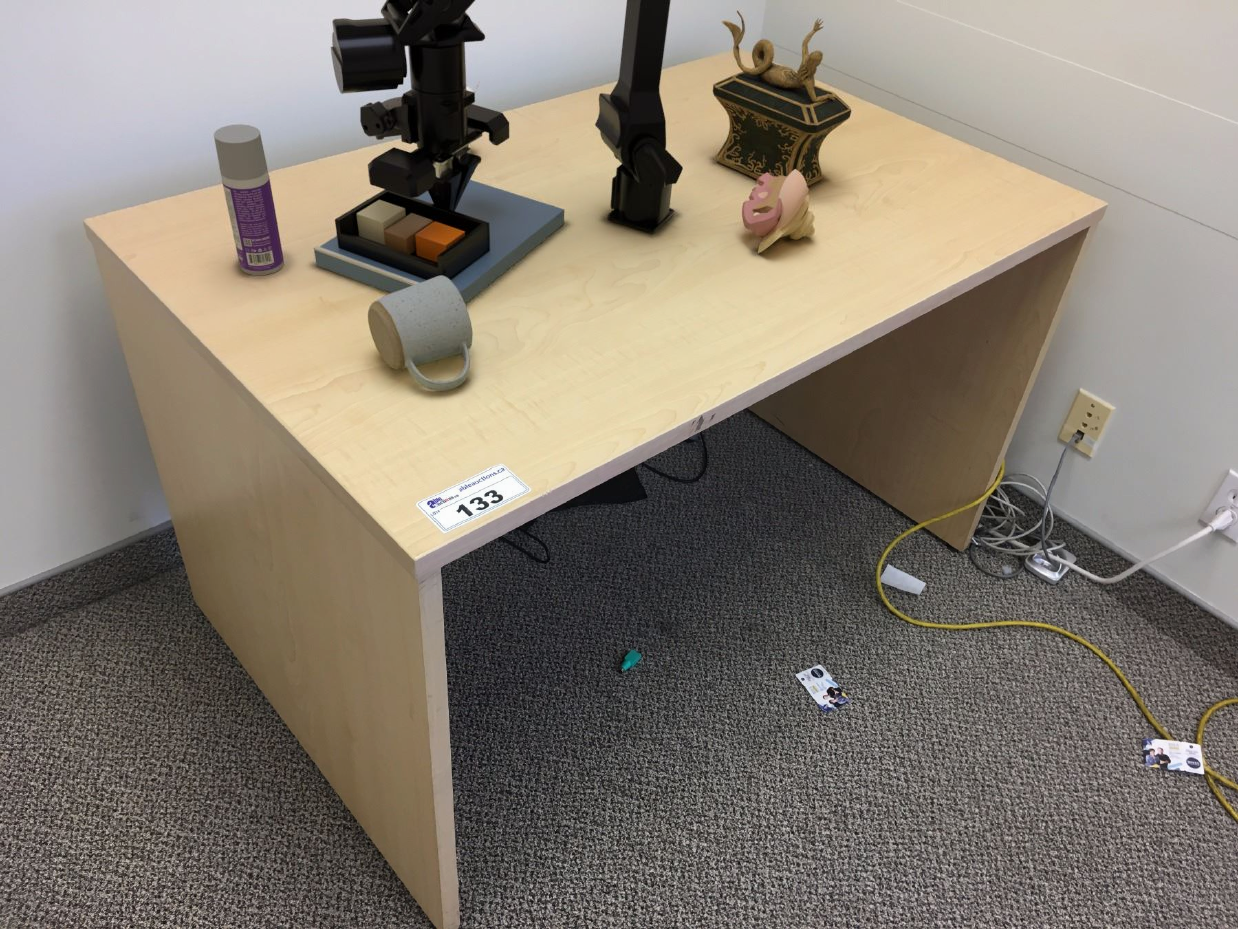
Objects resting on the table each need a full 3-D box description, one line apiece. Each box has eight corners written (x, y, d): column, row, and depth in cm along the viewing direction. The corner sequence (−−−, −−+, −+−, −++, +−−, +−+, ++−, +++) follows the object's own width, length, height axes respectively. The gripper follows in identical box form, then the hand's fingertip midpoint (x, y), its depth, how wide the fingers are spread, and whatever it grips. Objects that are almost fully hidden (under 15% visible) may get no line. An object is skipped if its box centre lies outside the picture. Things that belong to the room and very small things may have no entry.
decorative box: (839, 180, 136) (873, 31, 123) (798, 201, 131) (830, 48, 118) (724, 131, 146) (745, -12, 133) (682, 149, 140) (699, 1, 127)
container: (292, 259, 112) (270, 129, 102) (268, 279, 108) (243, 146, 98) (256, 249, 113) (231, 120, 103) (231, 269, 109) (202, 137, 99)
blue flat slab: (564, 224, 122) (564, 206, 120) (451, 315, 106) (450, 296, 104) (441, 184, 127) (440, 167, 126) (316, 265, 111) (313, 247, 109)
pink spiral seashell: (802, 222, 128) (848, 197, 119) (770, 284, 125) (815, 263, 116) (748, 178, 125) (791, 149, 116) (714, 241, 122) (755, 216, 113)
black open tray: (490, 250, 112) (489, 222, 110) (443, 286, 106) (441, 257, 104) (389, 215, 116) (386, 187, 114) (338, 247, 110) (334, 219, 108)
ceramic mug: (366, 348, 100) (359, 282, 95) (439, 325, 104) (436, 261, 99) (416, 406, 94) (411, 340, 89) (491, 380, 98) (491, 314, 93)
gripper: (427, 40, 113) (435, 170, 123) (317, 93, 100) (336, 232, 111) (511, 63, 110) (512, 195, 120) (408, 120, 97) (419, 262, 107)
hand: (445, 219), depth 115 cm, fingers closed
